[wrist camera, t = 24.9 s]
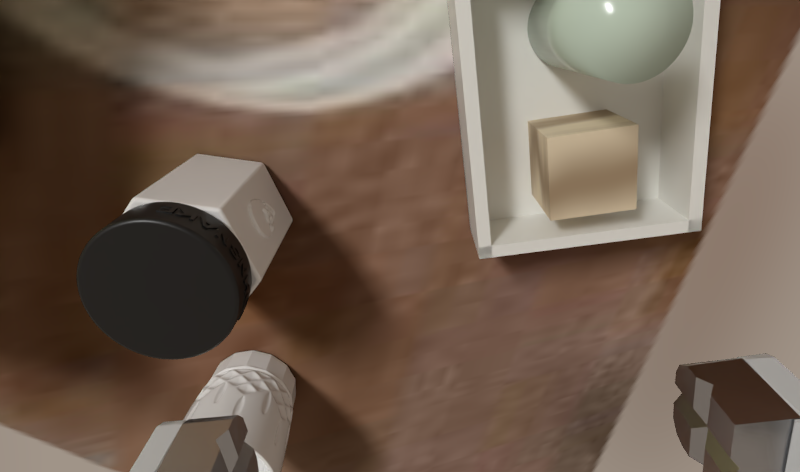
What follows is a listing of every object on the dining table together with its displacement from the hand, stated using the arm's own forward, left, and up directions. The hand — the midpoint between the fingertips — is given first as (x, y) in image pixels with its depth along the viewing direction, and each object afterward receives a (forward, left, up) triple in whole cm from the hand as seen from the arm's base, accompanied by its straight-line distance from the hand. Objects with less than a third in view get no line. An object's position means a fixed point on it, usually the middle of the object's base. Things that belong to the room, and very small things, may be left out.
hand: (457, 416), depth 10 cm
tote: (-1, +10, -27) cm, 29 cm away
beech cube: (+3, +10, -26) cm, 28 cm away
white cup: (+19, -16, -27) cm, 37 cm away
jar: (+4, -14, -27) cm, 31 cm away
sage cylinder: (-5, +10, -26) cm, 28 cm away
